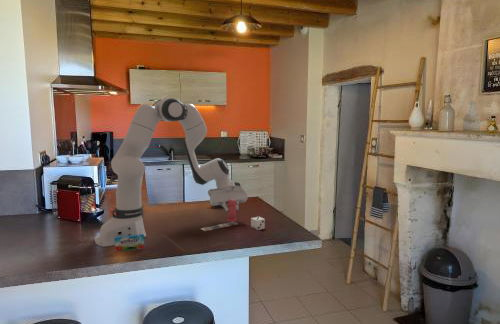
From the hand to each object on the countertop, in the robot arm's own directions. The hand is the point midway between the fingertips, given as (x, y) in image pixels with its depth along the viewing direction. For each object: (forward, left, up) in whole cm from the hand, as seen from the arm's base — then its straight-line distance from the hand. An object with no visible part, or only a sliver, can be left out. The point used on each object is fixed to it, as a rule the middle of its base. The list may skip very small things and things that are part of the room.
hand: (232, 210), depth 182 cm
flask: (+14, +38, -9) cm, 41 cm away
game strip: (-7, +1, -8) cm, 11 cm away
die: (+9, -10, -8) cm, 16 cm away
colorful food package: (-53, -2, -9) cm, 54 cm away
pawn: (0, +1, -6) cm, 6 cm away
